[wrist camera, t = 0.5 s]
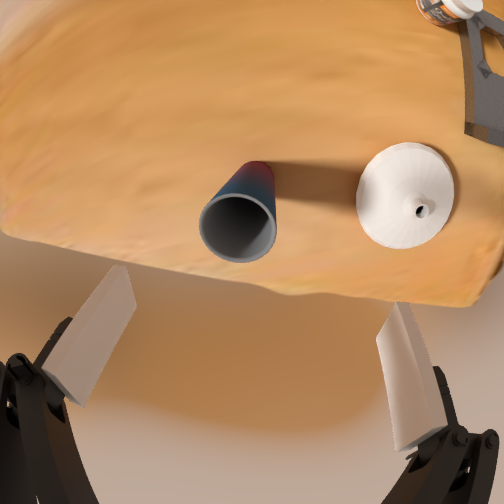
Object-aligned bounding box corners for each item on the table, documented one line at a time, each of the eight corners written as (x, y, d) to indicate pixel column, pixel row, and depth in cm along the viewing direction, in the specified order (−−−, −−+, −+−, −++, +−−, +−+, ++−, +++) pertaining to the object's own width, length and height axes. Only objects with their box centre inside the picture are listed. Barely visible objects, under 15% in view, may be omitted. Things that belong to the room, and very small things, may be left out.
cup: (283, 157, 34) (281, 198, 21) (277, 204, 38) (271, 267, 25) (232, 152, 34) (198, 189, 22) (229, 198, 38) (199, 257, 25)
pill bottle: (420, 22, 20) (457, 9, 11) (409, -11, 17) (441, -31, 8) (452, 29, 18) (491, 21, 10) (442, -3, 16) (477, -18, 7)
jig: (452, 2, 15) (473, -6, 10) (508, 30, 13) (529, 29, 8) (464, 133, 27) (487, 142, 22) (514, 147, 25) (536, 158, 20)
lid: (452, 217, 34) (473, 239, 29) (370, 253, 40) (382, 281, 34) (429, 123, 28) (455, 132, 22) (333, 163, 34) (343, 179, 28)
